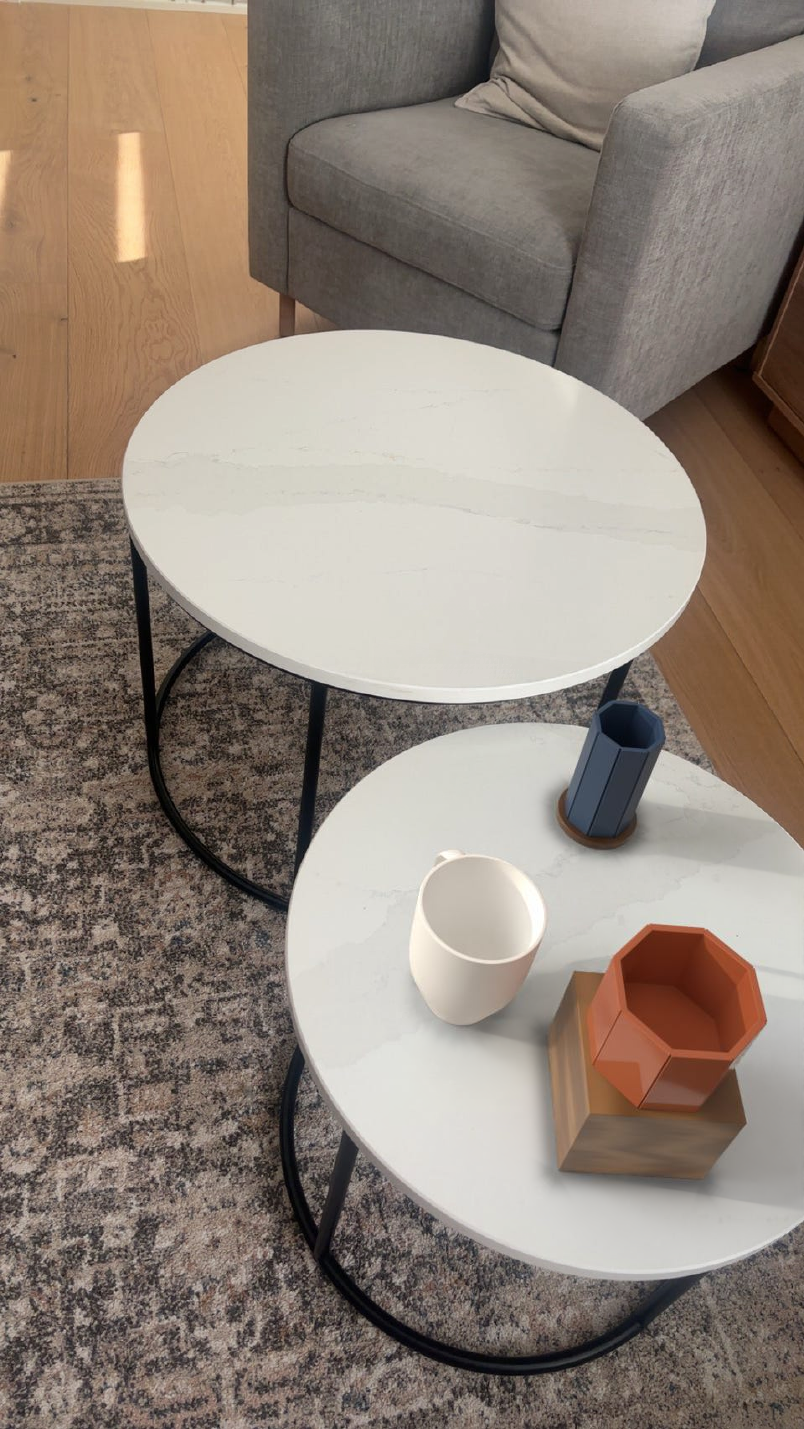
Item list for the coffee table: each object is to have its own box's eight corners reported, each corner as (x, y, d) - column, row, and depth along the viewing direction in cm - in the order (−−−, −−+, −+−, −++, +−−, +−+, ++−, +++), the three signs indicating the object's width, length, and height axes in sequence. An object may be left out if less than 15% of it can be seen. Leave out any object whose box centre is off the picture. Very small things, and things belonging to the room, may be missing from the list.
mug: (531, 1037, 80) (567, 950, 71) (417, 1061, 78) (440, 973, 69) (482, 905, 88) (509, 812, 79) (376, 924, 85) (392, 829, 77)
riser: (678, 1043, 81) (717, 980, 75) (702, 1179, 74) (747, 1123, 68) (546, 1033, 80) (573, 970, 74) (557, 1170, 73) (589, 1113, 67)
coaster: (629, 790, 98) (631, 784, 98) (640, 853, 93) (642, 847, 93) (552, 783, 98) (554, 778, 97) (559, 846, 93) (561, 840, 92)
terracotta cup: (711, 986, 74) (746, 930, 69) (737, 1115, 68) (778, 1063, 63) (581, 977, 74) (607, 919, 69) (596, 1106, 67) (625, 1053, 62)
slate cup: (624, 789, 97) (659, 703, 89) (632, 840, 93) (669, 754, 85) (562, 784, 97) (591, 697, 89) (568, 834, 93) (599, 748, 85)
